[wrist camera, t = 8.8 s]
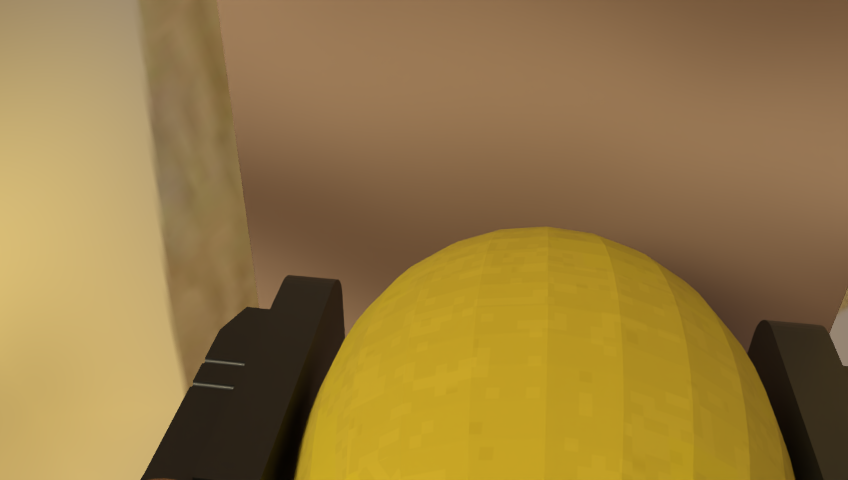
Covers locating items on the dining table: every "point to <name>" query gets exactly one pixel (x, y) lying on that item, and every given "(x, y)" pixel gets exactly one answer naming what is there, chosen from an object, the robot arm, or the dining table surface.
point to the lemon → (541, 373)
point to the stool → (548, 139)
